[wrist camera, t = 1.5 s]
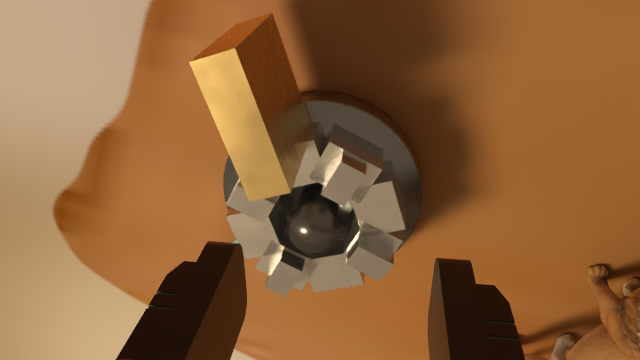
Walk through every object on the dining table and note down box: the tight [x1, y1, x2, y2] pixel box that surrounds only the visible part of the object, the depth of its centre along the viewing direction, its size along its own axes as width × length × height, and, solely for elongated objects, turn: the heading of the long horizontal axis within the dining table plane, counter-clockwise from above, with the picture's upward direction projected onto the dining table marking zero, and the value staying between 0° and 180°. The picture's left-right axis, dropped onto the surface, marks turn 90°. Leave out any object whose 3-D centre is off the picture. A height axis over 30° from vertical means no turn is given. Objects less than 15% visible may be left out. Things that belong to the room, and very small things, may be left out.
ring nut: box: [189, 13, 405, 297], centre depth 26 cm, size 16×10×7 cm, turn 18°
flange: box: [224, 91, 421, 253], centre depth 30 cm, size 12×12×6 cm
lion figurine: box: [524, 265, 640, 360], centre depth 31 cm, size 15×5×9 cm, turn 156°
